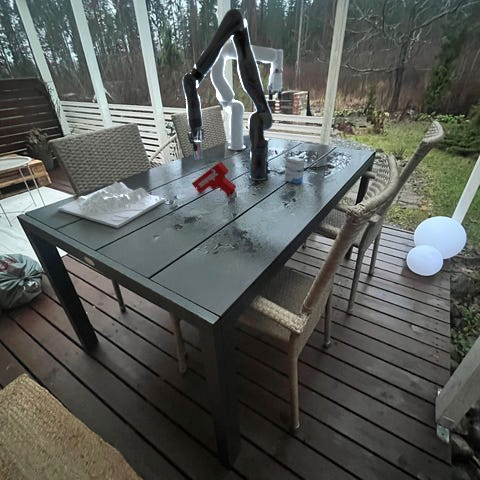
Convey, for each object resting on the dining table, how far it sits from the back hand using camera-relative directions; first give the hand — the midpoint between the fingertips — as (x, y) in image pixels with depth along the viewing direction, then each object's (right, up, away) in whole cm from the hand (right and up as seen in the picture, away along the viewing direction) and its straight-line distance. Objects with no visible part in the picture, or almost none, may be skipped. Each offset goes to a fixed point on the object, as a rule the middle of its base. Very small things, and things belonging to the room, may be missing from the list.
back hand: (274, 99), depth 195 cm
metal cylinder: (-49, -54, -39) cm, 83 cm away
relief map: (-81, -86, -75) cm, 140 cm away
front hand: (-49, -50, -42) cm, 82 cm away
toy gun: (-38, -79, -64) cm, 108 cm away
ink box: (+3, -70, -52) cm, 87 cm away
